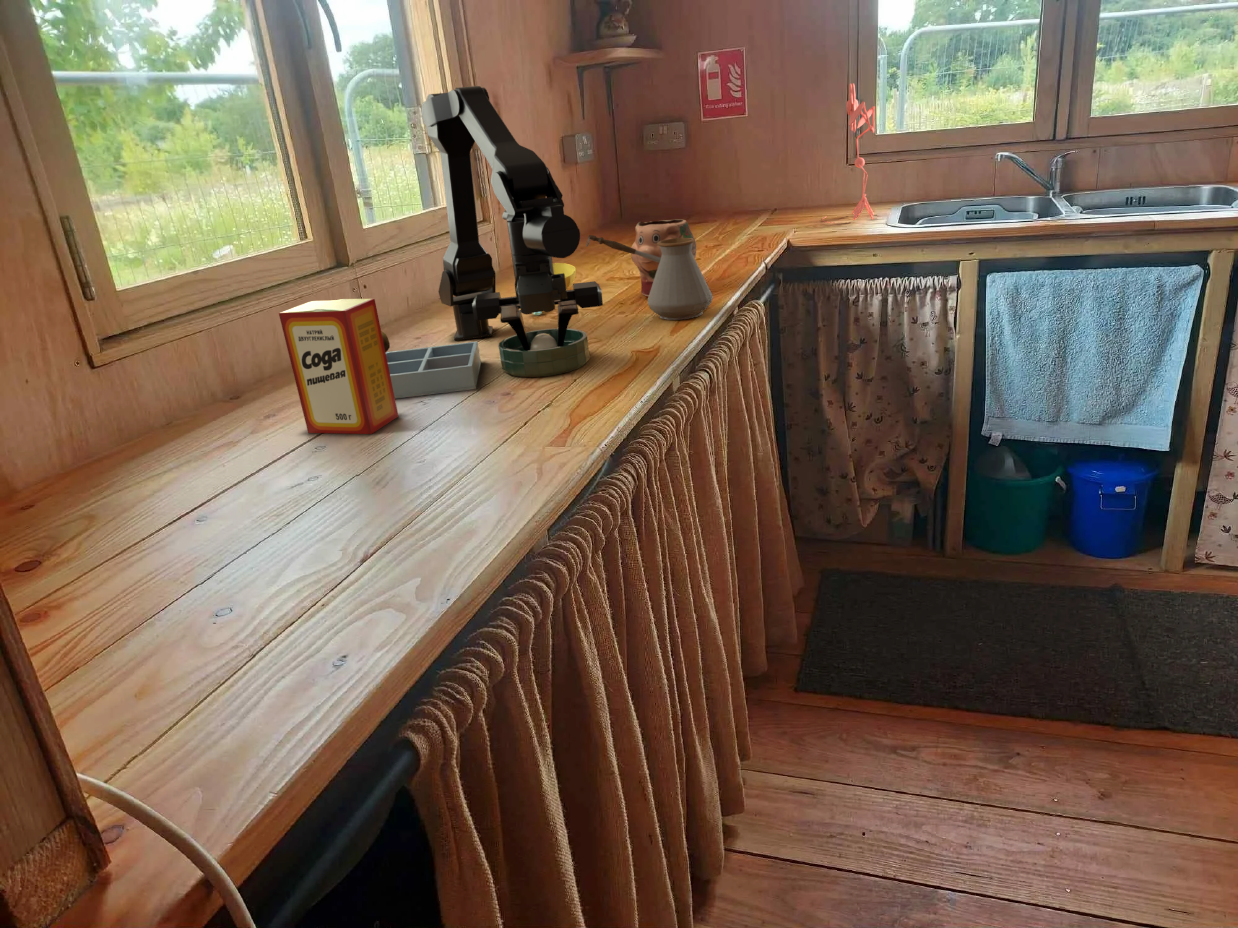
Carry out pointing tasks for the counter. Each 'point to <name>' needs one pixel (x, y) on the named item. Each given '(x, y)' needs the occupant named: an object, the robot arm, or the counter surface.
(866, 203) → the figurine
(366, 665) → the counter surface
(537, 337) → the egg
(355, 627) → the counter surface
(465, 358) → the divided tray
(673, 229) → the decorative planter
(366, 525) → the counter surface
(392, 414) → the baking soda box
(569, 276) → the ladle
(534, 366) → the bowl
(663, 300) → the coffee pot
